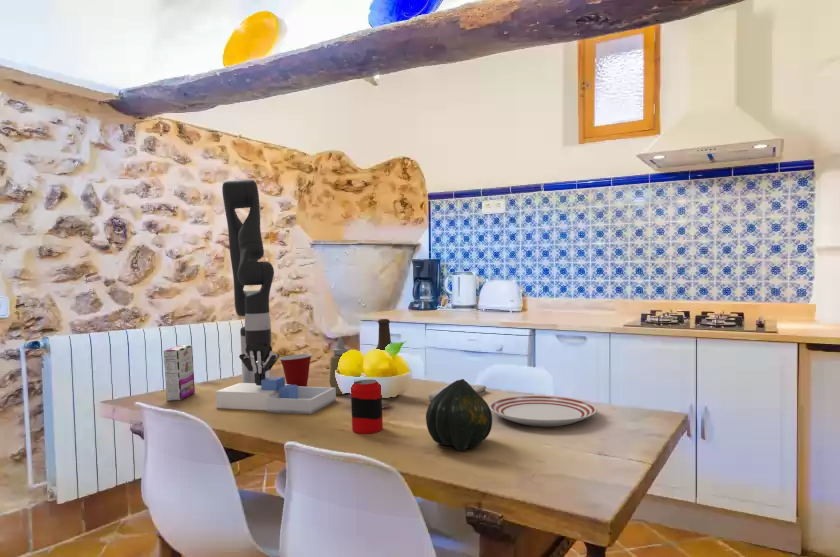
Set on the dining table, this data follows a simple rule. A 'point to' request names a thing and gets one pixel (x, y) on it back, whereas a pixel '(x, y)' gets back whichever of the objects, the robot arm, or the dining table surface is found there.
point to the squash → (459, 416)
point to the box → (302, 401)
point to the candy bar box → (179, 372)
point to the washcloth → (478, 388)
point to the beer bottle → (383, 334)
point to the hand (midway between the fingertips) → (260, 385)
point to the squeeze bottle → (336, 364)
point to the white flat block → (244, 397)
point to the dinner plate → (542, 410)
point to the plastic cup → (296, 369)
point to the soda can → (366, 407)
